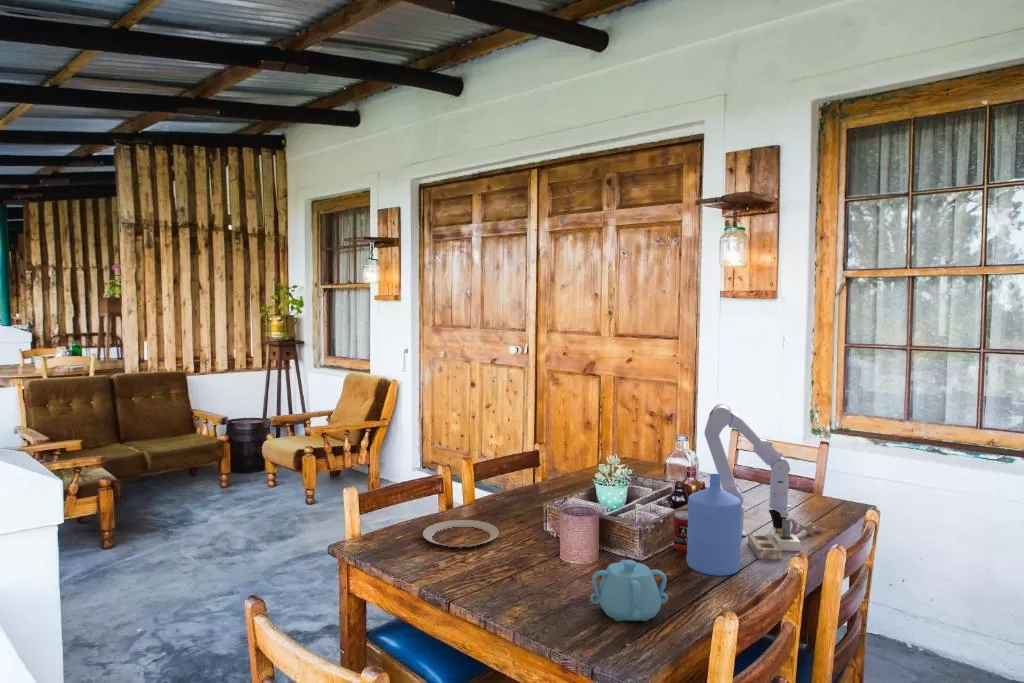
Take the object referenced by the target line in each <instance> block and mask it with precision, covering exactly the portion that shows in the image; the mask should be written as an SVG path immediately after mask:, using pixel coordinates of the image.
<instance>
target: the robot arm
mask: <svg viewBox="0 0 1024 683" xmlns="http://www.w3.org/2000/svg"><path fill="white" fill-rule="evenodd" d="M727 426H728V428H730V429H735V430H737V431H738V432H739V433H740V434H741V435H742V436H744V437H745V438H746V440H747V441H749V442H750V443H751V444H752V446H753V452H754V453H755V454H756V455H757V457H759V458H760V459H761V460H762V462H764V463H765V464H766V465H767V466H769V467H770V469H771V472H770V478H769V479H770V482H769V486H770V487H769V504H768V507H769V508H770V509H768V513H769V514H770V517H771V522H772V526H773V529H774V527H777V528H782V519H783V518H789V517H788V516H789V513H788V511H789V509H792V505H790V504H788V503H789V473H790V471H791V467H790V464H789V462H788V459H786V457H785V456H784V454H783V453H782V452H779V451H778V450H777V449H776V448H775V447H774V446H773V445H774V444H773V442H772V441H770V440H769V441H768V440H767V439H763V438H760V437H759V436H758V435H757V433H755V431H754V430H753V429H752V428H751V427H750V425H748V423H746V421H745V420H744V419H743V418H742V417H741V416H740V415H739V414H737V413H736V412H735V411H734V410H731V408H730V406H728V405H727V404H724V403H719V404H716V405H715V406H714V407H713V408H712V409H711V411H710V412H709V415H708V418H707V421H706V425H705V428H704V436H705V439H706V443H707V445H708V448H709V451H710V454H711V457H712V460H713V462H714V463H713V464H714V465H715V469H716V472H717V474H719V475H721V477H720V481H721V483H720V485H721V489H722V490H724V491H726V492H728V493H730V494H732V495H734V496H736V497H738V498H739V499H740V500H741V502H742V505H741V506H742V515H741V537H746V536H747V532H745V530H744V516H745V514H744V513H745V506H744V497H743V491H742V489H741V487H740V486H739V485H738V484H737V482H736V479H735V476H734V474H733V472H732V469H731V465H730V463H729V460H728V457H727V454H726V452H725V448H724V444H723V442H722V439H721V437H720V435H721V433H722V431H723V429H724V428H725V427H727Z"/></svg>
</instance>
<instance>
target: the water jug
mask: <svg viewBox="0 0 1024 683" xmlns="http://www.w3.org/2000/svg"><path fill="white" fill-rule="evenodd" d="M720 477H721V475H719V474H718V473H710V474H709V478H710V479H709V487H707V488H704V489H702V490H698V491H696V492H693V493H691V494H690V495H689V496H688V497H687V511H688V528H687V552H686V565H687V566H688V567H689V568H690V569H692V570H693V571H695V572H698V573H700V574H702V575H703V574H704V575H708V576H714V577H715V576H716V577H725V576H731V575H734V574H737V573H738V572H739V571H740V569H741V564H742V562H741V543H742V536H741V515H742V506H741V505H743V504H742V502H741V500H740V499H739V498H738V497H736V496H734V495H732V494H730V493H728V492H726V491H724V490H723V488H722V487H721V481H720Z"/></svg>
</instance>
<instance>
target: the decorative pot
mask: <svg viewBox="0 0 1024 683" xmlns="http://www.w3.org/2000/svg"><path fill="white" fill-rule="evenodd" d="M654 575H658V576H661V578H662V580H661V584H660V586H658V585H657V582H656V580H655V577H654ZM600 576H602V577H601V580H600V582H599V587H598V582H597V578H598V577H600ZM591 578H592V579H591V582H592V585H593V589H594V592H593V593H591V594H590V598H589V599H590V602H591V603H592V604H594V605H600V607H601V608H602V610H603V612H604V613H605V614H606V615H607V616H608V617H610V618H612V619H613V620H614V621H616V622H623V621H641V622H648V621H649V620H651V619H654V617H656V615H657V614H658V613H659V611H660V610H661V608H662V607H661V606H662V604H663V605H664V604H666V603H667V602H668V600H669V596H668V594H667V593H665V592H664V591H665V589H666V585H667V582H668V581H667V580H668V579H667V575H666V574H665V573H664V572H663V571H662V570H659V569H651V570H650V568H649V567H648V566H647V565H646V564H644V563H640V562H637V561H635V560H632V559H621V560H620V561H619V562H613V563H611V564H610V563H609V565H608V566H607V568H606V569H605V570H604V569H602V570H601V569H600V570H597V571H596V572H594V574H593V575H592V577H591ZM594 597H596V598H594ZM662 597H664V598H662Z"/></svg>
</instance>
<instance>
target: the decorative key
mask: <svg viewBox="0 0 1024 683" xmlns="http://www.w3.org/2000/svg"><path fill="white" fill-rule="evenodd" d="M787 519H790V523H791V524H792V528H791V529H790V534H794V535H795V534H797V533H798V531H803V530H804V531H806V533H808V534H812V531H813V530H814V532H816V533H818V531H820V530H821V529H822V527H821V526H820V525H819V524H818V523H816V524H815V526H813V525H814V523H813V522H811V521H809V522H808V523H807V524H803V525H802V524H800V523H799V522H797V521H796V520H795V519H793V518H792V517H787ZM797 529H798V530H797Z"/></svg>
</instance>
